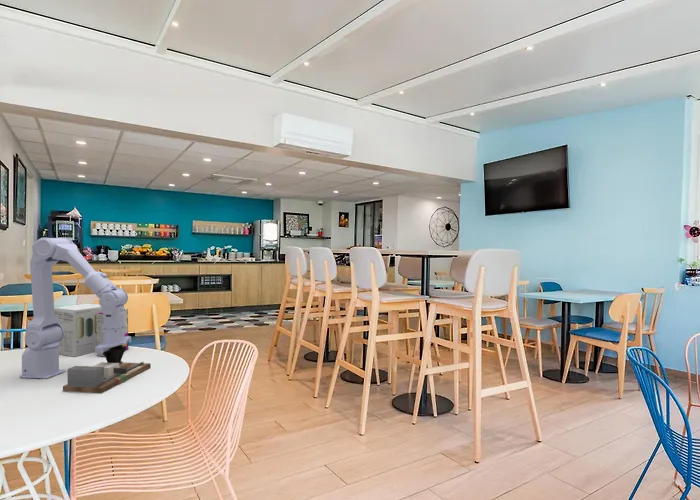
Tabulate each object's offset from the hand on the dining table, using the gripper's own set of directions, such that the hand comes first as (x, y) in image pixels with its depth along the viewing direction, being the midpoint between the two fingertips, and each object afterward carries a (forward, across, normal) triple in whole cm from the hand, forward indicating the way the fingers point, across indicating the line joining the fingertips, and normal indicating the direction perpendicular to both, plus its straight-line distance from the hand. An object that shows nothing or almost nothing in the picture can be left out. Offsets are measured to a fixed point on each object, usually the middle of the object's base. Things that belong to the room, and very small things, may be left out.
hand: (114, 370), depth 135 cm
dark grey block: (0, -12, 0) cm, 12 cm away
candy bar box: (+2, +26, +19) cm, 32 cm away
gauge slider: (0, -5, -2) cm, 6 cm away
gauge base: (+2, -2, 0) cm, 3 cm away
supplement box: (+2, +27, +33) cm, 43 cm away
